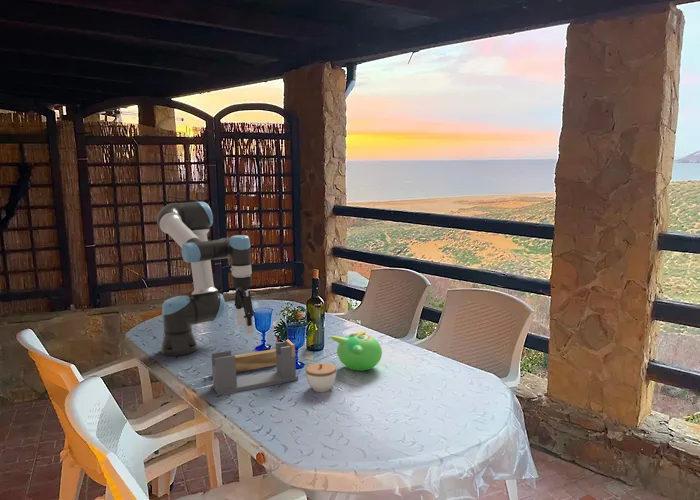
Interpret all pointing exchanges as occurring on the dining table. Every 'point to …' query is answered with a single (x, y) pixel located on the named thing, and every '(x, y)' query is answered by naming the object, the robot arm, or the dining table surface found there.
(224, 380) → the stand
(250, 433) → the dining table surface
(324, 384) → the lidded jar
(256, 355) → the slat
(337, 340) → the toy bird
